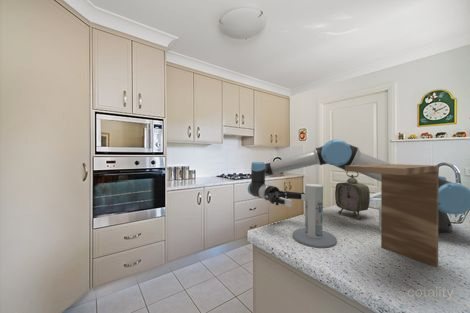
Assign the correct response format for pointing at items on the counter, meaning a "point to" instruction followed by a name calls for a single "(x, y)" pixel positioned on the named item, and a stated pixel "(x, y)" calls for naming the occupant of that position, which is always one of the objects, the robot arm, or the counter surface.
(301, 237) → the rubber mat
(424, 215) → the walnut shelf
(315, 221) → the spray can
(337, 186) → the tabletop clock
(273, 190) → the robot arm
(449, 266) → the counter surface
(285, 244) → the counter surface
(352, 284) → the counter surface
